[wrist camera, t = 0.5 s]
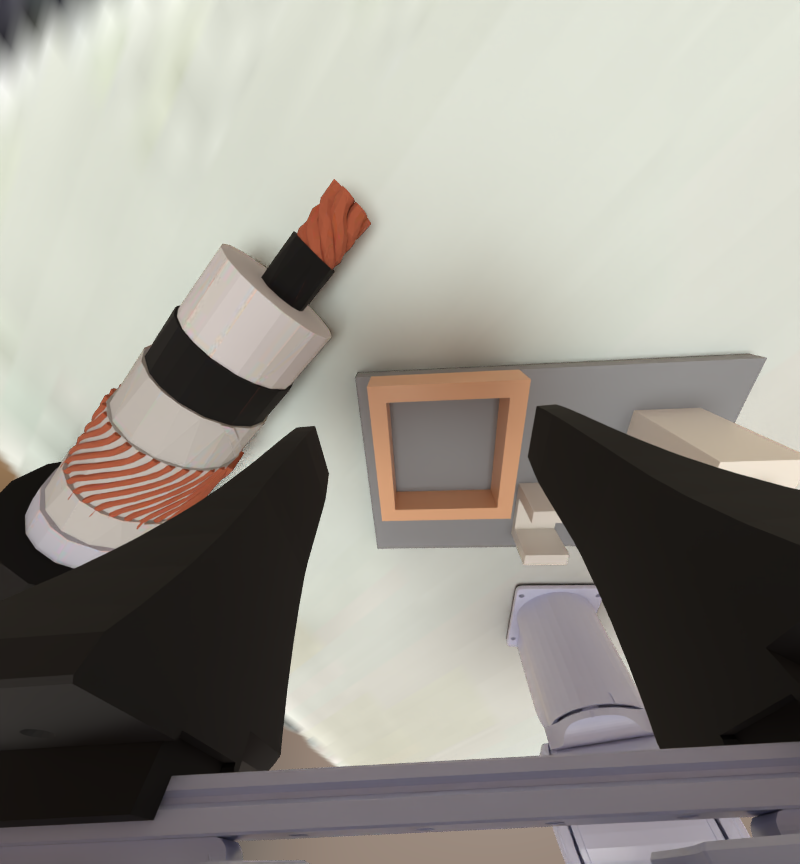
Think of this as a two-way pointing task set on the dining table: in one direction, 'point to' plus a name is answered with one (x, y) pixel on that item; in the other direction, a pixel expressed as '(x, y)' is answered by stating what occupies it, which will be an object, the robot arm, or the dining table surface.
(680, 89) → the dining table surface
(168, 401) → the cable
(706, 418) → the connector
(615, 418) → the board
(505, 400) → the frame
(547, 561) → the clip
